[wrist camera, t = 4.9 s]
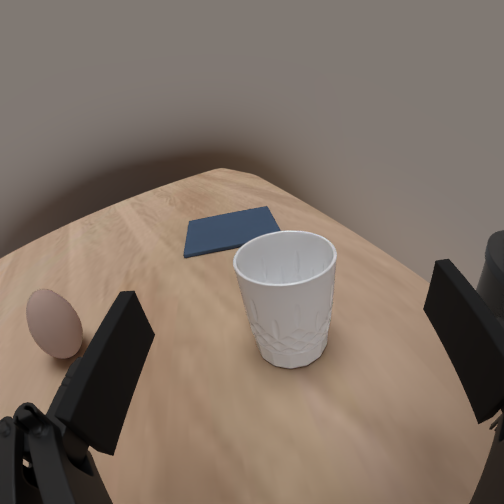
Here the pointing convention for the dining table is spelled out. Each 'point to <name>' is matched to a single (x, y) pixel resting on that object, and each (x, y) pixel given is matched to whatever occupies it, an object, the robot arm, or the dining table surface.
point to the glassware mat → (228, 231)
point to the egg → (54, 324)
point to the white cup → (288, 294)
